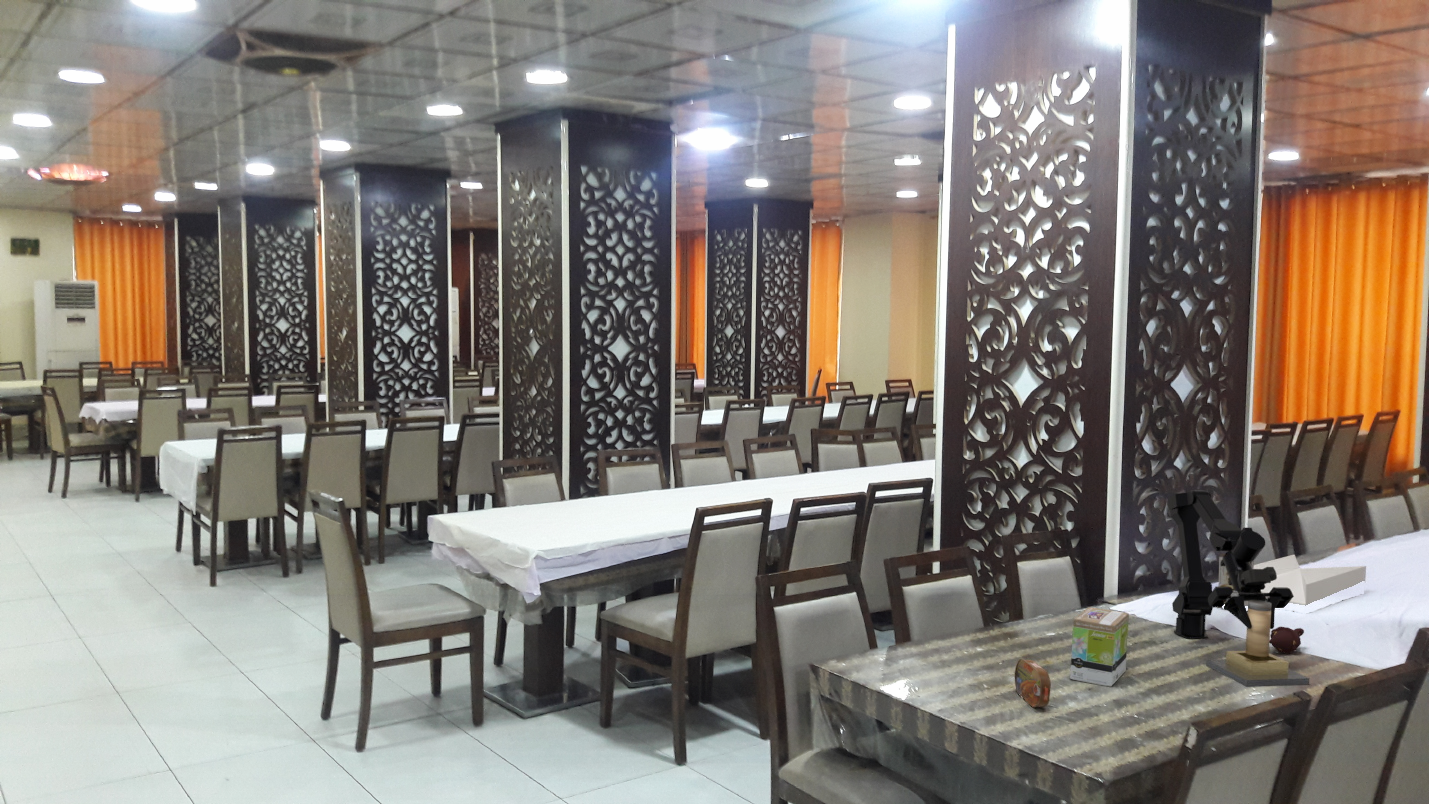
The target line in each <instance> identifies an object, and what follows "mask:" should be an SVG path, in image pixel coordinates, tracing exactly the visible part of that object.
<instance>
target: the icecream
mask: <svg viewBox="0 0 1429 804" xmlns="http://www.w3.org/2000/svg"><path fill="white" fill-rule="evenodd" d="M1304 633H1305V630H1304V629H1303V628H1301V627H1298V628H1297V627H1296V628H1294V629H1292V628H1290V627H1287V626H1278V627H1276V628H1273V629H1271V630H1270V643H1269V645H1271V646H1272V647H1273V648H1274V649H1275V650H1276V651H1277V652H1279V653H1282V654H1287V655H1290V654H1293V653H1294V652H1295V651H1298V650H1297V649H1298V648H1299V647H1300V646H1301V644H1302V642H1301V640H1302V639H1301V636H1303V635H1304Z"/></svg>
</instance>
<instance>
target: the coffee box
mask: <svg viewBox="0 0 1429 804" xmlns="http://www.w3.org/2000/svg"><path fill="white" fill-rule="evenodd" d="M1226 553H1227V552H1221V554H1220V556H1218V586H1217V587H1231V588H1232V590H1233V591H1234V589H1233V586H1232V585H1229V583H1228V581H1229V580H1230V578H1229V575H1228V572H1227V570H1226V567H1225V566H1221V565H1220V564H1221V561H1222V559H1223V556H1224V555H1225V554H1226ZM1250 564H1251V566H1252V569H1254V565H1255V560H1254V561H1252V562H1250ZM1223 601H1224V600H1223ZM1224 604H1225V602H1224ZM1244 606H1248V601H1244Z"/></svg>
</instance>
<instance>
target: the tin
mask: <svg viewBox="0 0 1429 804" xmlns="http://www.w3.org/2000/svg"><path fill="white" fill-rule="evenodd" d="M1014 685H1015V690H1016V693H1017V694H1020V696H1022V697H1023V698H1024V699H1025V700H1026V701H1027V702H1028V703H1029V704H1030V705H1031V706H1032V708H1045V707H1047V706H1048V705H1049V702H1050V697H1051V685H1052V683H1051V678H1050V675H1049V673H1048V671H1047V670H1046V669H1044V668H1043V667H1042V666H1041V665H1040V664H1038V663H1037V662H1035V661H1034V660H1032V659H1023V658H1021V659H1019V660H1018V661H1017V663H1016V665H1015V670H1014ZM1020 696H1019V697H1020ZM1024 699H1023V700H1024ZM1025 700H1024V701H1025ZM1026 701H1025V702H1026ZM1027 702H1026V703H1027ZM1028 703H1027V704H1028ZM1029 704H1028V705H1029ZM1031 706H1030V707H1031Z"/></svg>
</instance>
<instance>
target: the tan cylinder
mask: <svg viewBox="0 0 1429 804" xmlns="http://www.w3.org/2000/svg"><path fill="white" fill-rule="evenodd" d="M1247 613H1248V616H1249V618H1250V621H1251V625H1252V628H1251V629H1248V628H1247V627H1246V638H1245V639H1246V642H1245V651H1246V653H1247V654H1249V655H1253V656H1260V657H1266V656H1269V653H1270V639H1271V637H1270V635H1271V629H1270V623H1271V603H1270V602H1267V601H1262V600H1249V601H1248V612H1247Z"/></svg>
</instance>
